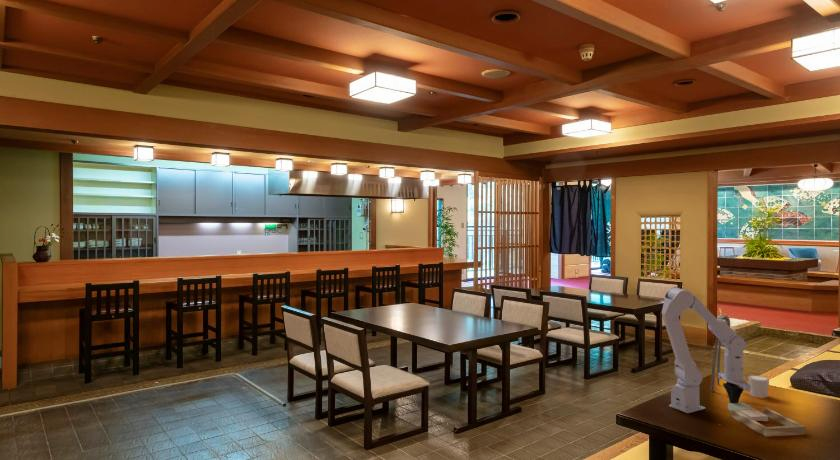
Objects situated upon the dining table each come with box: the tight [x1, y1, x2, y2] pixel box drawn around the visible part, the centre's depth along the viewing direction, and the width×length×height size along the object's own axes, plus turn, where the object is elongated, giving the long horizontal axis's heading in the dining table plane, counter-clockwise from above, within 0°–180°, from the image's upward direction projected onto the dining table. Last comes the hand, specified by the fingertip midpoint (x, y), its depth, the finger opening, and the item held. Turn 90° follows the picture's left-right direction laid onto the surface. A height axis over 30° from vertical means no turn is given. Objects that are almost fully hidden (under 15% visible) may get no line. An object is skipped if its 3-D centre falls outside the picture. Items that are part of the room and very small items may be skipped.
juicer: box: [710, 315, 731, 392], centre depth 206 cm, size 10×11×30 cm
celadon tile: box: [727, 402, 756, 412], centre depth 182 cm, size 6×6×2 cm
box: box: [730, 407, 807, 438], centre depth 170 cm, size 16×13×2 cm
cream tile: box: [739, 408, 769, 422], centre depth 176 cm, size 6×6×2 cm
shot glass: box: [747, 375, 770, 398], centre depth 197 cm, size 7×7×7 cm
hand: (734, 403), depth 186 cm, fingers closed
